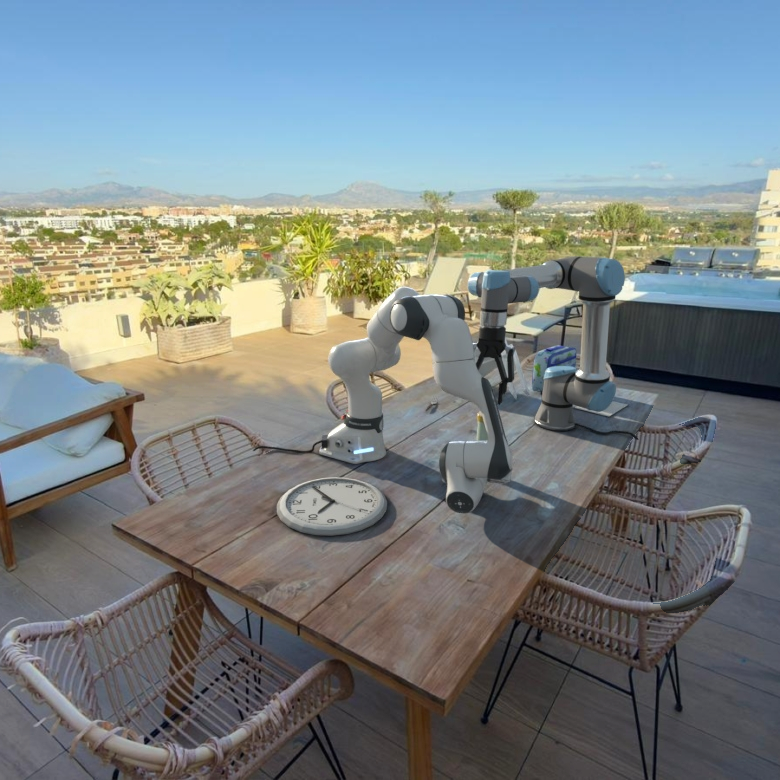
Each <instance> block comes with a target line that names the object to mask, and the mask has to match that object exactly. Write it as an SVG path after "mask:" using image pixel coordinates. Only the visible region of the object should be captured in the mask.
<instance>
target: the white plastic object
mask: <svg viewBox="0 0 780 780" xmlns="http://www.w3.org/2000/svg"><path fill="white" fill-rule="evenodd" d="M505 344H506V346H507V347H510V348H512V347H514V348H515V346H514V345H513V343H511V344H508V341H507V337H506V336H505ZM480 353H481V352H480V351H479V349H478V347H476V350H475V352H474V355H475V358H473V359H475V363H476V362H477V360H478V357H479V355H480ZM501 355H502V361H503V364H504V367H505V371H506V374H507V378H508V364H507V356H508V355H507V354H506V351H505V350H504V351H503V352H502V353H501ZM513 358H514V367H515V369H516V372H517V376H518V380H519V382H520V385H521V389H522V391H523V393H524V395H525V396H526V397H528V396H531V395H530V390H529V388H528V387H529V386H528V384H527V381H526V378H525V375H524V371H523V369H522V368H523V367H522V366H521V362H520V359H519V355H518V352H517V349H516V348H515V352H514V355H513ZM496 369H498V367H497V364H496V362H495V359H494V358H490V357H487V358H486V357H485V358H484V360H483V362H482V364H481V367H480V369H479V373H480V374H481V376H482V377H484V378H486V376H487V375H489V374H490V373H492V372H494V371H495V370H496ZM507 388H508V390H509V393H510V394H511V395H512V397H513V398H514V399H515V400H517V392H516V391H517V390H516V388H515V385H514V380H513V381H512V382H509V383H507Z"/></svg>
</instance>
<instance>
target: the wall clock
mask: <svg viewBox="0 0 780 780" xmlns="http://www.w3.org/2000/svg"><path fill="white" fill-rule="evenodd" d="M387 509H388V500H387V498H386V496H385V494H384V493H383V492H382V491H381V490H380V489H379V488H377V487H376V486H374V485H372V484H371V483H369V482H365V481H362V480H359V479H355V478H349V477H338V476H337V477H335V476H333V477H332V476H331V477H322V478H317V479H312V480H307V481H305V482H302V483H299V484H297V485H295V486H293V487H292V488H290V489H288V490H287V491H286V492H285V493H284V494H283V495H281V496H280V498H279V499H278V502H277V503H276V515H277V517H278V518H279V520H280V521H281V522H282V523H283V524H285V525H286V526H287V527H288V528H290V529H293V530H295V531H297V532H299V533H303V534H308V535H312V536H327V537H328V536H329V537H331V536H332V537H333V536H342V535H350V534H352V533H356V532H361V531H363V530H366V529H368V528H369V527H372V526H373V525H375V524H376V523H378V522H379V521H380V520H381V519H382V518H383V517H384V516H385V514H386V512H387Z"/></svg>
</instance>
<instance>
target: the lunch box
mask: <svg viewBox="0 0 780 780" xmlns="http://www.w3.org/2000/svg"><path fill="white" fill-rule="evenodd" d="M576 362H577V348H576V347H571V346H565V345H553V346H550V347H546V348H545V349H542V350H539V351H538V352H537V353H536V354H535V356H534V358H533V365H532V376H531V377H532V378H531V390H532V391H533V392H537V393H542V391H543V381H544V379H543V378H544V375H545V371H546V369H547V368H549V367H555V366H571V367H575V368H576V364H577V363H576Z"/></svg>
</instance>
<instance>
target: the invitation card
mask: <svg viewBox="0 0 780 780" xmlns="http://www.w3.org/2000/svg"><path fill="white" fill-rule="evenodd" d="M628 406H629V404H627V403H623V402H618V401H614V400H613V401H612V402H611V404H610V405H609V406H608V408H606V409H605V410H604V411H601V412H596V411H592V410H588V409H585V408H582V407H579V406H576V405H575V406H574V407H573V409H575V410H581V411H584V412H587V413H593V414H596V415H600V416H604V417H608V418H609V417H611V416H613V415H614V414H616V413H617V412H619V411H621V410H623V409H624V408H626V407H628Z"/></svg>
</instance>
